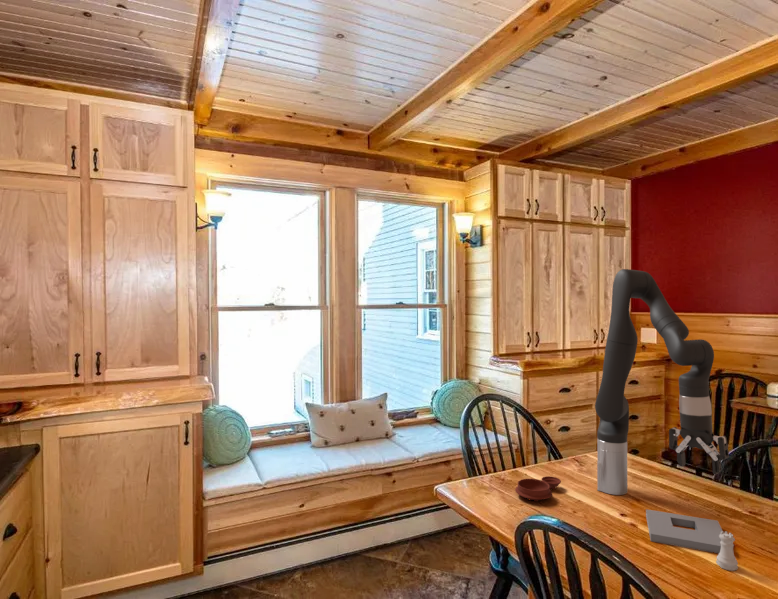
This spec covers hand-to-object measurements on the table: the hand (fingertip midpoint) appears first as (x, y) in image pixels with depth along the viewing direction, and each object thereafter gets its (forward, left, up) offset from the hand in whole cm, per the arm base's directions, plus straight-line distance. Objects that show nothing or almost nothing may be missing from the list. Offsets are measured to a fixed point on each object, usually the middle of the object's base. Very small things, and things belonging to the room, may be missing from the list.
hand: (699, 469), depth 132 cm
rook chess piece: (+3, -17, -18) cm, 25 cm away
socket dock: (-4, -3, -18) cm, 18 cm away
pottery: (-44, +9, -18) cm, 48 cm away
